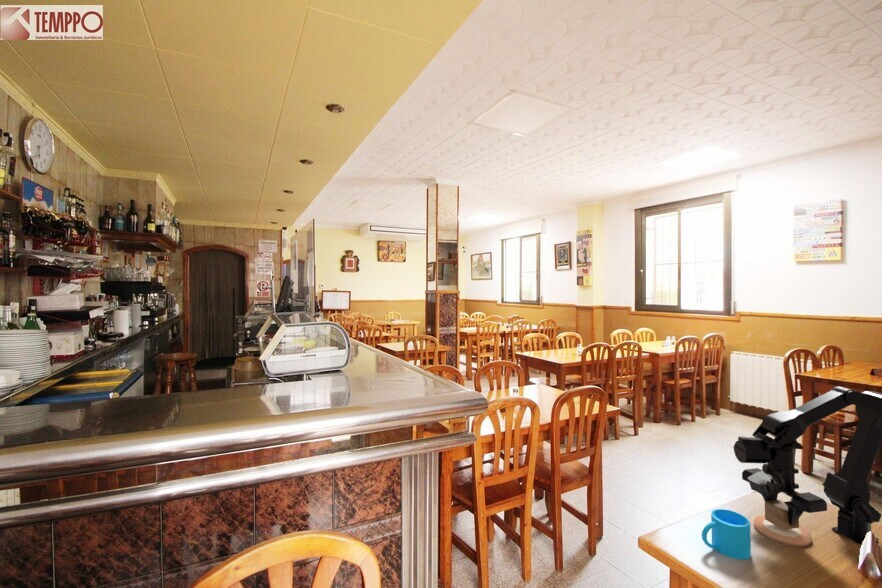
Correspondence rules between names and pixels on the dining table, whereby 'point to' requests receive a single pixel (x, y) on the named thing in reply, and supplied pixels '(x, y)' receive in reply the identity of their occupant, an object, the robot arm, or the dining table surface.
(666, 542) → the dining table surface
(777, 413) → the robot arm
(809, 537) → the terracotta dish
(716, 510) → the mug
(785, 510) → the walnut block
